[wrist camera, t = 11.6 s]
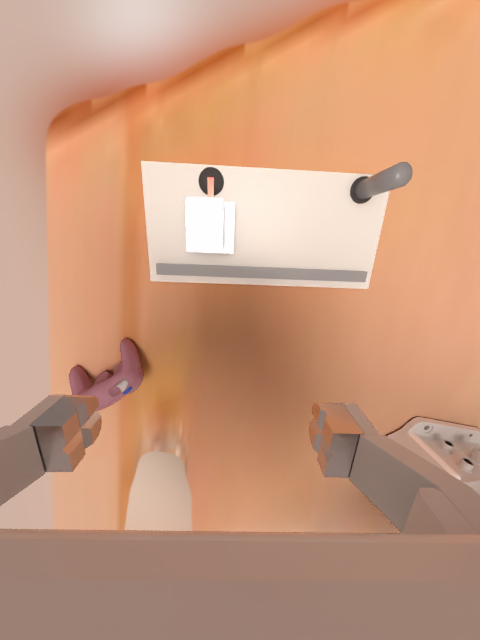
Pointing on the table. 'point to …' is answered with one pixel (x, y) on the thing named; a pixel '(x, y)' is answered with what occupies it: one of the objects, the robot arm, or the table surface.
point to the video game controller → (110, 378)
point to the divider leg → (209, 223)
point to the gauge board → (271, 224)
